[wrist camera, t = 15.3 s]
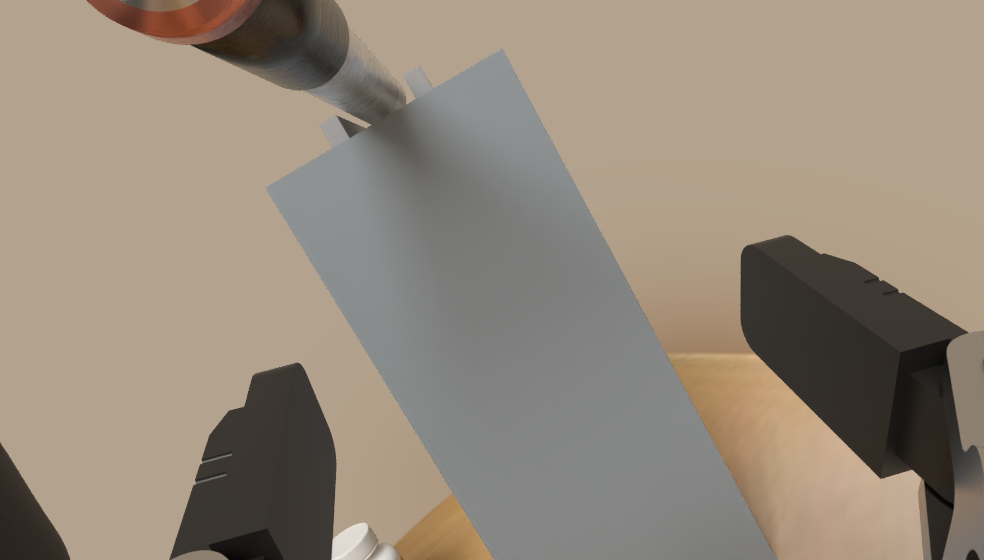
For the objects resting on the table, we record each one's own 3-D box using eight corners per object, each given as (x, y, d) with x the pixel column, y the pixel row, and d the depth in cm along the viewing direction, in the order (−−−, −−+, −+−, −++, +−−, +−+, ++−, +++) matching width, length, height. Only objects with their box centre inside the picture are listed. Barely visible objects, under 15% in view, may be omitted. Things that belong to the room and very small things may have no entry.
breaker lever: (293, -32, 12) (181, -226, 11) (127, 70, 12) (10, -115, 12) (425, 112, 37) (391, 53, 36) (369, 145, 37) (335, 87, 36)
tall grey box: (777, 559, 36) (488, 22, 31) (561, 668, 37) (250, 163, 32) (704, 465, 48) (488, 66, 43) (543, 549, 48) (314, 168, 44)
